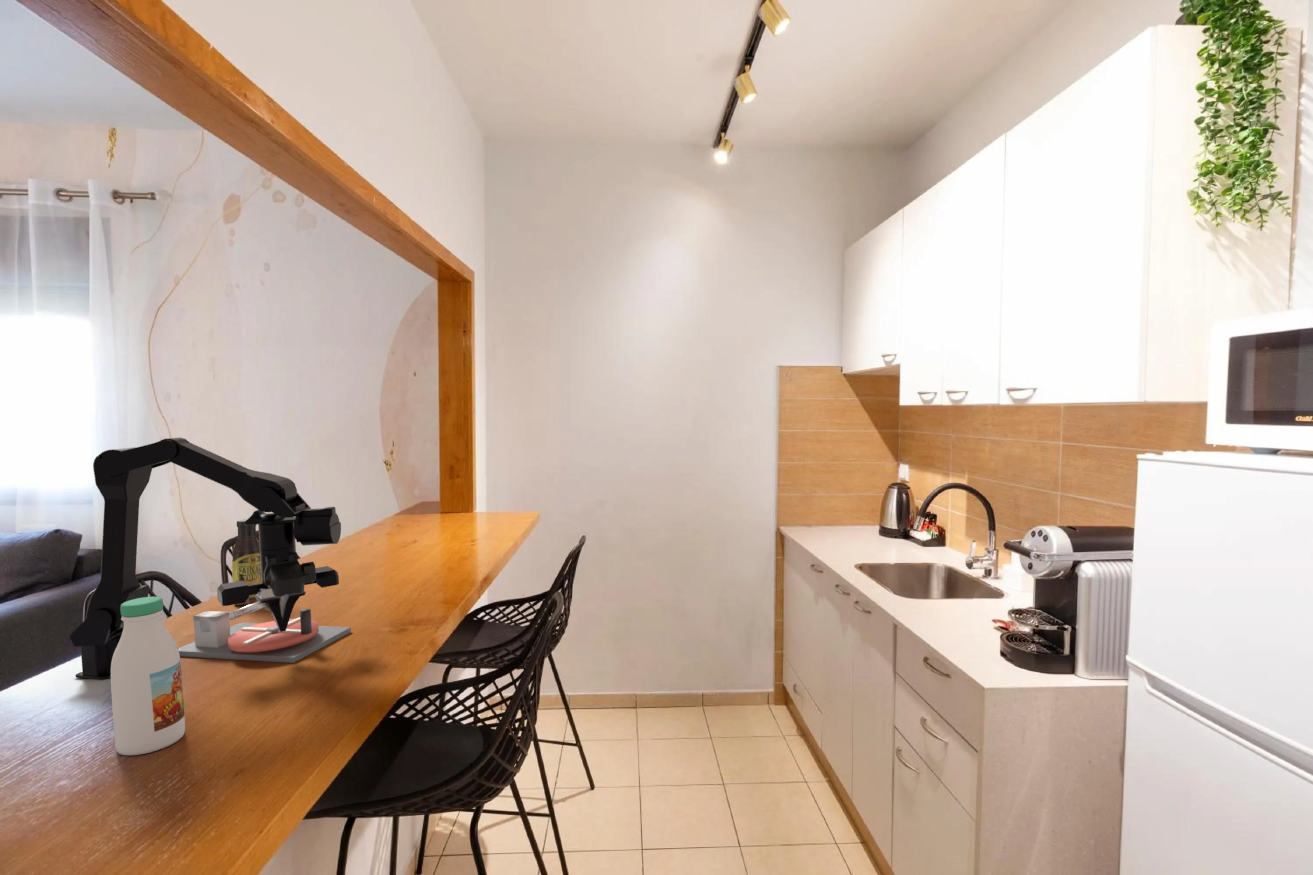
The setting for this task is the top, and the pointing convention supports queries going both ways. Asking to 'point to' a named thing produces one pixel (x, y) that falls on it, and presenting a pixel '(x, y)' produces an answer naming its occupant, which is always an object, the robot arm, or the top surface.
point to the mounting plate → (214, 644)
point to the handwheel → (274, 634)
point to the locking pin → (249, 609)
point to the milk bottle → (146, 681)
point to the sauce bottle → (246, 558)
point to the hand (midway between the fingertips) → (282, 630)
